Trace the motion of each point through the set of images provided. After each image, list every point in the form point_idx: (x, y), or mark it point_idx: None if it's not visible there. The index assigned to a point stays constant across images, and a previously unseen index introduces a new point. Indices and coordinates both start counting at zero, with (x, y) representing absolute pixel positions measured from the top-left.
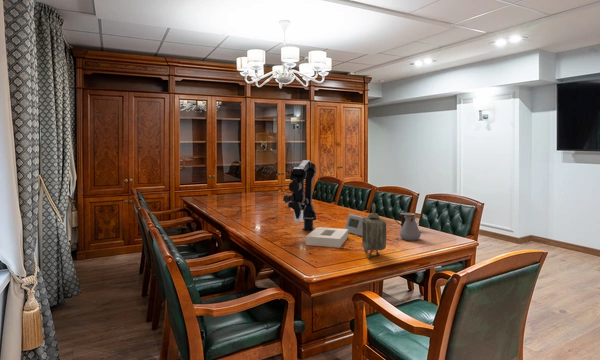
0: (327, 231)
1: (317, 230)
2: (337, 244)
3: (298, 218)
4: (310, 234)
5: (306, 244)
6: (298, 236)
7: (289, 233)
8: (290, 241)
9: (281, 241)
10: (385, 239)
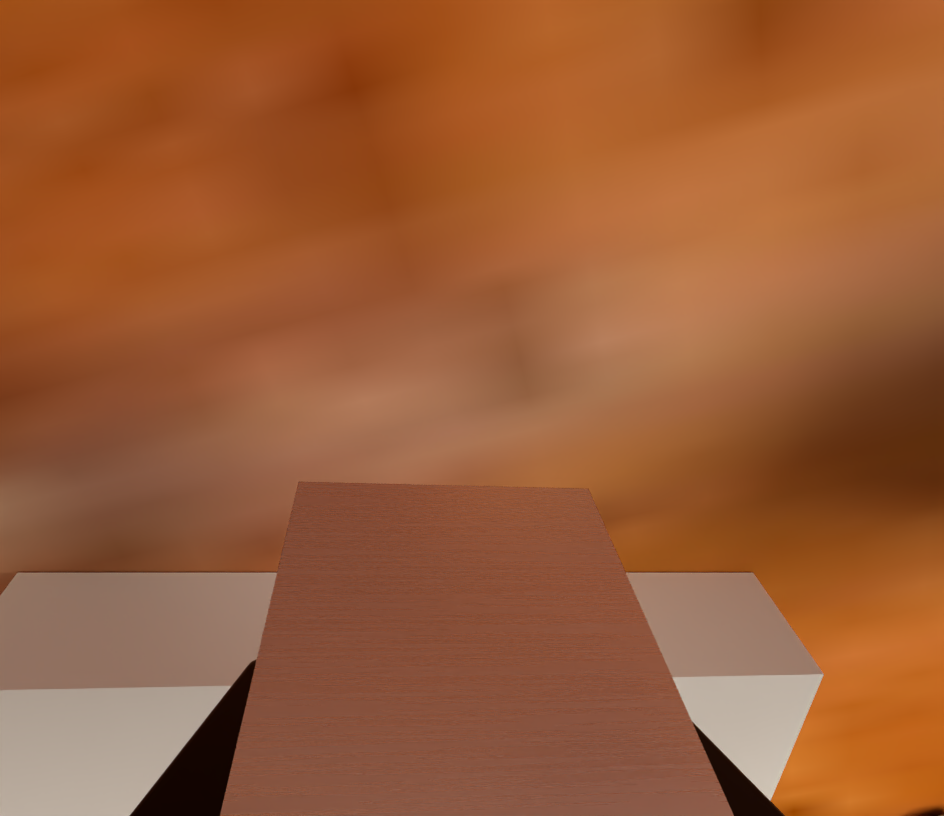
0: None
1: None
2: None
3: None
4: (135, 718)
5: (17, 585)
6: (582, 307)
7: (849, 26)
8: (112, 261)
9: (7, 49)
10: None
